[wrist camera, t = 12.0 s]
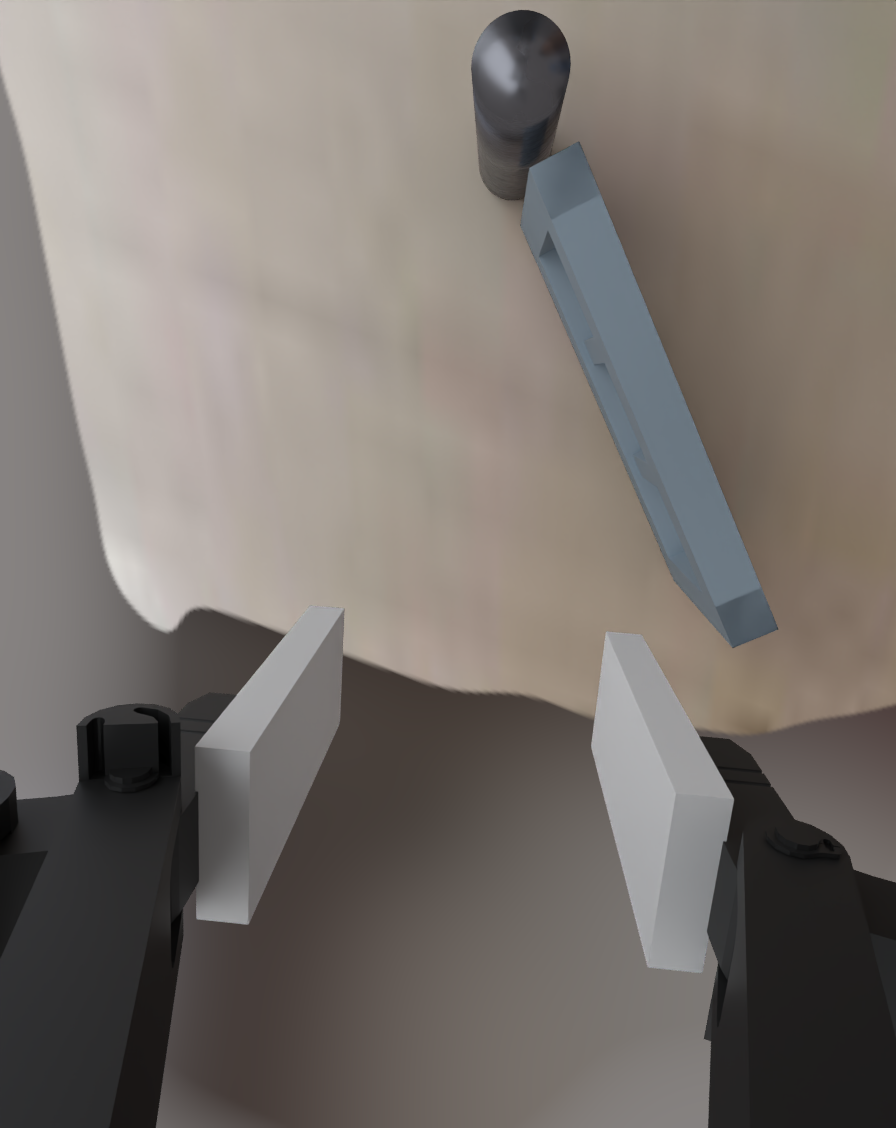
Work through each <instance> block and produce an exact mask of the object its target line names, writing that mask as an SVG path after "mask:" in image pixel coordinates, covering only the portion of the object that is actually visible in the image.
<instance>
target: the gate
mask: <svg viewBox="0 0 896 1128" xmlns="http://www.w3.org/2000/svg"><path fill="white" fill-rule="evenodd" d="M520 226H521V228H522V230H523V233H524V235H525V237H526V240H527V242H528V244H529V247H530V249H531V251H532V254H533V256H534V258H535V260H536V263H537V264H538V267H539V269H540V271H541V274H542V276H543V278H544V281H545V283H546V285H547V288H548V290H549V292H550V295H551V297H552V299H553V301H554V304H555V306H556V308H557V311H558V313H559V315H560V318H561V320H562V322H563V325H564V327H565V329H566V332H567V334H568V336H569V338H570V341H571V343H572V345H573V348H574V350H575V352H576V355H577V357H578V359H579V362H580V364H581V366H582V369H583V371H584V373H585V375H586V378H587V380H588V382H589V385H590V387H591V389H592V392H593V394H594V396H595V399H596V401H597V403H598V406H599V408H600V410H601V412H602V415H603V417H604V419H605V422H606V424H607V426H608V429H609V431H610V433H611V436H612V438H613V440H614V443H615V445H616V447H617V450H618V452H619V454H620V456H621V459H622V461H623V463H624V466H625V468H626V470H627V473H628V475H629V477H630V480H631V482H632V484H633V487H634V489H635V491H636V493H637V496H638V498H639V500H640V503H641V505H642V507H643V510H644V512H645V514H646V517H647V519H648V521H649V524H650V526H651V528H652V530H653V533H654V535H655V537H656V540H657V542H658V544H659V547H660V550H661V552H662V554H663V557H664V559H665V561H666V563H667V566H668V568H669V570H670V573H671V575H672V577H673V580H674V581H675V582H676V584H677V585H678V586H679V587H680V588H681V589H682V590H683V592H684V593H685V594H686V595H687V596H688V597H689V598H690V600H691V601H692V602H693V603H694V604H695V605H696V606H697V608H698V609H699V610H700V611H701V612H702V613H703V614H704V616H705V617H706V618H707V619H708V620H709V621H710V623H711V624H712V625H713V626H714V627H715V628H716V629H717V631H718V632H719V633H720V634H721V635H722V636H723V637H724V639H725V640H726V641H727V642H728V643H729V644H730V645H731V647H732V648H734V647H736V646H739V645H741V644H744V643H746V642H749V641H751V640H753V639H756V638H758V637H761V636H763V635H766V634H768V633H770V632H773V631H775V630H778V627H777V625H776V622H775V620H774V617H773V615H772V612H771V610H770V607H769V605H768V602H767V600H766V598H765V595H764V593H763V590H762V588H761V585H760V583H759V580H758V578H757V576H756V573H755V571H754V568H753V566H752V563H751V561H750V558H749V556H748V554H747V551H746V549H745V546H744V544H743V541H742V539H741V536H740V534H739V531H738V529H737V527H736V524H735V522H734V519H733V517H732V514H731V512H730V509H729V507H728V505H727V502H726V500H725V497H724V495H723V492H722V490H721V487H720V485H719V483H718V480H717V478H716V475H715V473H714V470H713V468H712V465H711V463H710V460H709V458H708V456H707V453H706V451H705V448H704V446H703V443H702V441H701V438H700V436H699V434H698V431H697V429H696V426H695V424H694V421H693V419H692V416H691V414H690V412H689V409H688V407H687V404H686V402H685V399H684V397H683V394H682V392H681V389H680V387H679V385H678V382H677V380H676V377H675V375H674V372H673V370H672V367H671V365H670V363H669V360H668V358H667V355H666V353H665V350H664V348H663V345H662V343H661V341H660V338H659V336H658V333H657V331H656V328H655V326H654V323H653V321H652V318H651V316H650V314H649V311H648V309H647V306H646V304H645V301H644V299H643V296H642V294H641V292H640V289H639V287H638V284H637V282H636V279H635V277H634V274H633V272H632V270H631V267H630V265H629V262H628V260H627V257H626V255H625V252H624V250H623V247H622V245H621V243H620V240H619V238H618V235H617V233H616V230H615V228H614V225H613V223H612V221H611V218H610V216H609V213H608V211H607V208H606V206H605V203H604V201H603V199H602V196H601V194H600V191H599V189H598V186H597V184H596V181H595V179H594V176H593V174H592V172H591V169H590V167H589V164H588V162H587V159H586V157H585V154H584V152H583V150H582V147H581V145H580V142H577V143H575V144H573V145H571V146H569V147H568V148H566V149H564V150H562V151H560V152H558V153H556V154H555V155H553V156H551V157H549V158H547V159H545V160H543V161H542V162H540V163H538V164H536V165H534V166H532V167H530V168H529V173H528V180H527V186H526V192H525V199H524V205H523V212H522V218H521V224H520Z"/></svg>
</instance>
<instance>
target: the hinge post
mask: <svg viewBox="0 0 896 1128" xmlns="http://www.w3.org/2000/svg"><path fill="white" fill-rule="evenodd" d="M570 66H571V63H570V52H569V48H568V44H567V42H566V39H565V37H564V35H563V33H562V32H561V30H560V29H559V28H558V26H557V25H556V24H555V23H554V22H553V21H552V20H550V19H549V18H548V17H546V16H544V15H542V14H540V13H537V12H534V11H529V10H518V11H512V12H509V13H506V14H504V15H502V16H500V17H498V18H497V19H495V20H494V21H493V22H492V23H490V24H489V25H488V26H487V28H486V29H485V30H484V31H483V33H482V34H481V36H480V38H479V39H478V41H477V44H476V46H475V49H474V52H473V57H472V66H471V71H472V84H473V96H474V108H475V121H476V133H477V145H478V157H479V169H480V174H481V177H482V180H483V182H484V184H485V185H486V187H487V188H488V189H489V190H490V191H491V192H492V193H493V194H495V195H496V196H498V197H500V198H503V199H507V200H518V199H522V198H524V197H525V192H526V186H527V180H528V173H529V168H530V167H532V166H534V165H536V164H538V163H540V162H542V161H543V160H545V159H547V158H549V157H550V154H551V150H552V146H553V141H554V137H555V133H556V129H557V125H558V121H559V117H560V112H561V108H562V104H563V100H564V96H565V92H566V88H567V83H568V79H569V74H570Z"/></svg>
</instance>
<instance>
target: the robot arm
mask: <svg viewBox="0 0 896 1128" xmlns="http://www.w3.org/2000/svg"><path fill="white" fill-rule="evenodd" d="M343 632H344V608H335V607H323V606H312V605H310V606H309V607H308V609H307V610H306V611H305V612H304V614H303V615H302V616H301V617H300V618H299V620H298V621H297V622H296V623H295V625H294V626H293V627H292V628H291V629H290V631H289V632H288V633H287V634H286V636H285V637H284V638H283V639H282V640H281V642H280V643H279V644H278V646H277V647H276V648H275V649H274V650H273V652H272V653H271V654H270V655H269V657H268V658H267V659H266V660H265V661H264V663H263V664H262V665H261V666H260V668H259V669H258V670H257V671H256V672H255V674H254V675H253V676H252V677H251V679H250V680H249V681H248V682H247V683H246V685H245V686H244V687H243V688H242V689H241V691H240V692H239V693H238V694H237V695H231V694H221V693H208V694H206V695H204V696H202V697H200V698H198V699H196V700H193V701H191V702H189V703H188V704H187V705H186V706H185V707H184V708H183V709H182V710H181V711H180V712H179V713H178V714H177V713H176V712H174V711H173V710H171V709H170V708H167V707H163V706H159V705H155V704H127V705H118V706H114V707H110V708H106V709H102V710H99V711H97V712H95V713H93V714H91V715H89V716H87V717H85V718H84V719H83V720H82V721H81V722H80V723H79V724H78V725H77V745H78V766H79V783H78V785H77V787H76V790H75V792H74V794H72V795H65V796H58V797H47V798H35V799H23V800H17V799H16V786H15V780H14V777H13V776H11V775H10V774H8V773H7V772H5V771H2V770H0V1128H156V1122H157V1115H158V1108H159V1101H160V1095H161V1087H162V1080H163V1073H164V1067H165V1060H166V1053H167V1046H168V1039H169V1032H170V1025H171V1018H172V1011H173V1004H174V997H175V990H176V983H177V976H178V969H179V963H180V955H181V949H182V942H183V907H184V905H185V904H186V902H187V900H188V899H189V897H190V895H191V894H192V892H193V890H194V889H195V887H196V919H202V920H211V921H220V922H229V923H239V924H249V921H250V920H251V917H252V915H253V913H254V911H255V909H256V906H257V904H258V902H259V900H260V898H261V895H262V893H263V891H264V889H265V887H266V884H267V882H268V880H269V878H270V875H271V873H272V871H273V869H274V867H275V864H276V862H277V860H278V858H279V855H280V853H281V851H282V849H283V847H284V845H285V842H286V840H287V838H288V836H289V834H290V831H291V829H292V827H293V825H294V823H295V820H296V818H297V816H298V814H299V811H300V809H301V807H302V805H303V803H304V800H305V798H306V796H307V794H308V792H309V789H310V787H311V785H312V783H313V781H314V779H315V776H316V774H317V772H318V770H319V768H320V765H321V763H322V761H323V758H324V756H325V754H326V752H327V750H328V748H329V745H330V743H331V741H332V739H333V737H334V734H335V732H336V730H337V728H338V726H339V723H340V705H341V681H342V656H343ZM591 748H592V752H593V756H594V759H595V764H596V767H597V771H598V775H599V779H600V783H601V787H602V790H603V795H604V799H605V803H606V806H607V810H608V814H609V818H610V822H611V826H612V830H613V834H614V838H615V842H616V845H617V849H618V853H619V857H620V861H621V865H622V869H623V873H624V877H625V881H626V884H627V888H628V892H629V896H630V900H631V904H632V908H633V911H634V916H635V920H636V923H637V927H638V931H639V935H640V939H641V943H642V947H643V951H644V955H645V958H646V962H647V966H648V967H650V968H659V969H668V970H678V971H688V972H696V973H702V972H703V967H704V961H705V956H706V950H707V945H708V939H710V941H711V944H712V947H713V950H714V952H715V955H716V958H717V960H718V967H717V972H716V978H715V983H714V988H713V994H712V999H711V1004H710V1009H709V1015H708V1020H707V1025H706V1031H705V1036H704V1039H706V1040H709V1041H711V1061H710V1091H709V1119H708V1128H896V883H895V882H892V881H888V880H884V879H881V878H877V877H873V876H871V875H868V874H864V873H862V872H859V871H856V870H854V869H853V867H852V863H851V859H850V856H849V855H848V853H847V851H846V850H845V848H844V846H842V845H841V844H840V843H839V842H838V841H837V840H836V839H834V838H833V837H832V836H831V835H829V834H827V833H826V832H824V831H822V830H820V829H818V828H816V827H814V826H812V825H809V824H806V823H804V822H800V821H797V820H795V819H794V818H793V816H792V815H791V813H790V812H789V810H788V809H787V807H786V806H785V804H784V803H783V801H782V800H781V799H780V797H779V796H778V794H777V793H776V791H775V790H774V788H773V787H771V784H770V782H769V781H768V779H767V778H766V776H765V775H764V774H762V770H761V769H760V767H759V766H758V764H757V763H756V761H755V760H754V758H753V757H752V756H751V754H750V753H748V752H746V751H745V750H744V749H743V748H741V747H740V746H738V745H737V744H736V743H734V742H733V741H731V740H730V739H723V738H712V737H701V736H698V734H697V732H696V730H695V729H694V727H693V725H692V723H691V721H690V720H689V718H688V716H687V714H686V713H685V711H684V709H683V707H682V705H681V704H680V702H679V700H678V698H677V697H676V695H675V693H674V691H673V690H672V688H671V686H670V684H669V682H668V681H667V679H666V677H665V675H664V674H663V672H662V670H661V668H660V666H659V665H658V663H657V661H656V659H655V658H654V656H653V654H652V652H651V650H650V649H649V647H648V645H647V643H646V642H645V640H644V638H643V636H642V635H639V634H628V633H617V632H606V637H605V644H604V652H603V660H602V668H601V675H600V683H599V691H598V698H597V706H596V714H595V721H594V729H593V737H592V745H591Z"/></svg>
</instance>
